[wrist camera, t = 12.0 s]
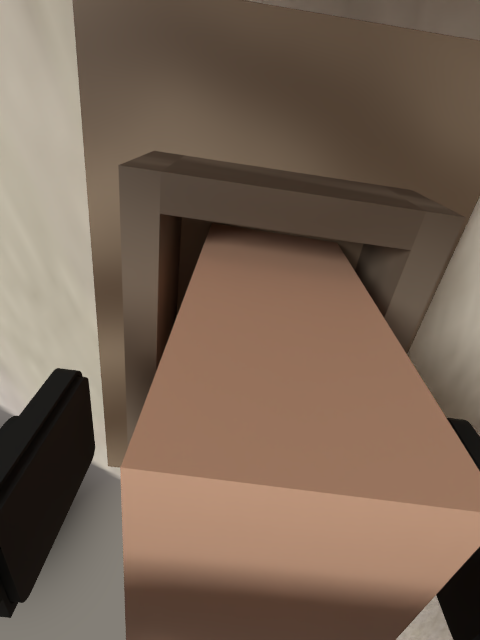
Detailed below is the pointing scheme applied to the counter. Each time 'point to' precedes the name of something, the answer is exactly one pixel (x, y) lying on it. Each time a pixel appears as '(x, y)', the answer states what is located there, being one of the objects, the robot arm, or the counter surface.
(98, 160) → the slot stand
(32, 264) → the counter surface
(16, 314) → the counter surface
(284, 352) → the terracotta block
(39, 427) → the robot arm
